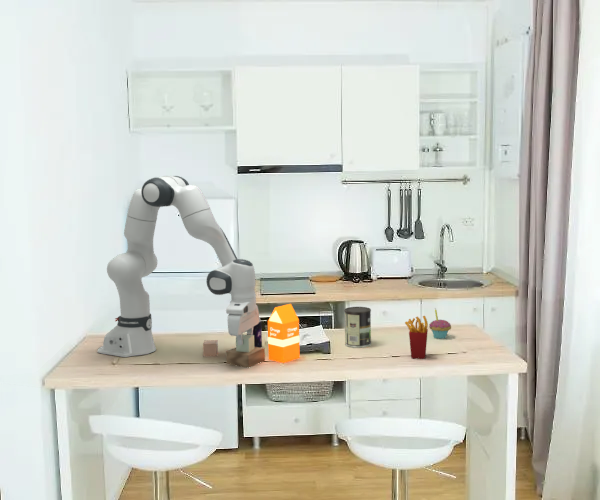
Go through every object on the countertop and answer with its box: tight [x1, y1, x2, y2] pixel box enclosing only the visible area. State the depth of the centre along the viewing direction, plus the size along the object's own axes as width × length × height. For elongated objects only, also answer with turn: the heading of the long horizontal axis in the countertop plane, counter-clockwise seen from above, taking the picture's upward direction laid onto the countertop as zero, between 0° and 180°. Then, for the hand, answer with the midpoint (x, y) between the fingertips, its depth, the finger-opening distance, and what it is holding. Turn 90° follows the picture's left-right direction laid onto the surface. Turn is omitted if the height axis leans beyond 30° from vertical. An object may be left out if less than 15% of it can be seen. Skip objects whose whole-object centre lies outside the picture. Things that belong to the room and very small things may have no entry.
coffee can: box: [344, 306, 372, 349], centre depth 298 cm, size 10×10×14 cm
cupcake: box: [428, 308, 452, 340], centre depth 306 cm, size 9×8×12 cm
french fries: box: [404, 315, 429, 360], centre depth 280 cm, size 9×8×15 cm
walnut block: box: [225, 347, 266, 369], centre depth 278 cm, size 10×10×5 cm
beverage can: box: [252, 317, 263, 348], centre depth 295 cm, size 6×6×12 cm
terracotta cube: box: [202, 339, 219, 358], centre depth 289 cm, size 5×5×5 cm
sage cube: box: [235, 334, 254, 352], centre depth 277 cm, size 5×5×5 cm
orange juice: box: [267, 303, 301, 364], centre depth 280 cm, size 8×9×20 cm
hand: (245, 341), depth 277 cm, fingers open, 6 cm apart
